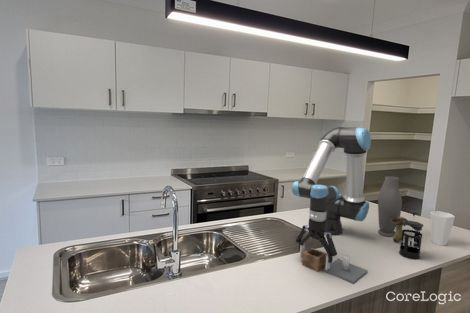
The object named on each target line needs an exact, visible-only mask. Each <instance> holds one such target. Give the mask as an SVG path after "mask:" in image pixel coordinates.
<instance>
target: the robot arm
mask: <svg viewBox="0 0 470 313" xmlns="http://www.w3.org/2000/svg"><path fill="white" fill-rule="evenodd" d="M371 143H372V138H371V134H370V131H369V130H368V128H365V127H360V126H359V127H357V126H355V127H354V126H351V127H350V126H348V127H347V126H337V127H333V128H331V129H330V130H328V131H327V132H326V133H325V134H323V136H322V137H321V138H320V140H319V142H318V143H317V144H318V147H317V149H316V151H315V153H314V154H313V157H312V158H311V161H310V163H309V164H308V166H307V168H306V170H305V171H304V174H303V176H302V177H301V179H300V180H295V181H294V182H293V183H292V186H291V192H292V195H293V196H296V197H299V198H305V199H309V214H308V217H309V218H308V224H305V225H302V227H301V231H300V232H299V234H298V236H297V237H296V239H295V242H296V243H298V251H299V260H301V259H302V260H303V252H305V251H306V244H305V242H307V241H308V240H309V239H310V238H311V239H314V240H316V241H318V242H320V244H321V245H322V247H323V249H324V251H325V253H327V256H326V268H325V270H328V269H330V264H331V263H332V262H333V258H334V257H336V256H337V255H338V252H337V249H336V246H335V244H334V241H333V236H338V235H342V234H343V232H344V231H343V230H344V227H343V224H342V221H341V218H343V219H347V220H353V221H355V222H364V221H365V219H367V215H368V213H369V210H370V203H369V202H368V201H366V196H365V195H364V194H363V192H364V190H363V189H364V155H365V154H367V151H369V150H370V148H371ZM339 148H340V149H343V154H345V155H346V190H345V191H346V192H345V194H344V195H343V194H342V193H340V191H339V189H338V188H337V187H336V186H334V185H324V184H317V183H318V180H319V178H320V176H321V174H322V172H323V170H324V168H325V167H326V164H327V162H328V160H329V158H330V156H331V154H333V152H335V151H336V149H339ZM307 231H308V234H307V235H306V236H304V235H305V234H306V232H307Z"/></svg>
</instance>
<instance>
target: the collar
mask: <svg viewBox="0 0 470 313" xmlns="http://www.w3.org/2000/svg"><path fill="white" fill-rule="evenodd" d="M327 255H328V254H327V252H324V251H323V250H322V251H321V250H319V249H317V248H314V247H311V248H309V249H308V250H305V252H303V258H302V261H301V265H302V266H304V267H306V268H308V269H311V270H313V271H315V272H316V273H317V272H319V271H321V270H323V268H324V267H326V256H327Z"/></svg>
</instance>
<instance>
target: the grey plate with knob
mask: <svg viewBox="0 0 470 313" xmlns="http://www.w3.org/2000/svg"><path fill="white" fill-rule="evenodd" d="M350 261H351V256H349V255H346V254H343V255H342V259H340V258H337V259H336V260H334V261H332V263H330V269H328V270H325V268H326V267H324V268H323V269H322V271H323V272H326V273H328V274H330V275H333V276H335V277H337V278H339V279H342V280H344V281H346V282H348V283H351V284H353V285H354V284H355V283H356V282H357V281H359V280H360V279H361V278H362V277H363V276H365V275H367V274H368V269H365V268H362V267H359V266H358V265H355V264H353V263H350Z"/></svg>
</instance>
